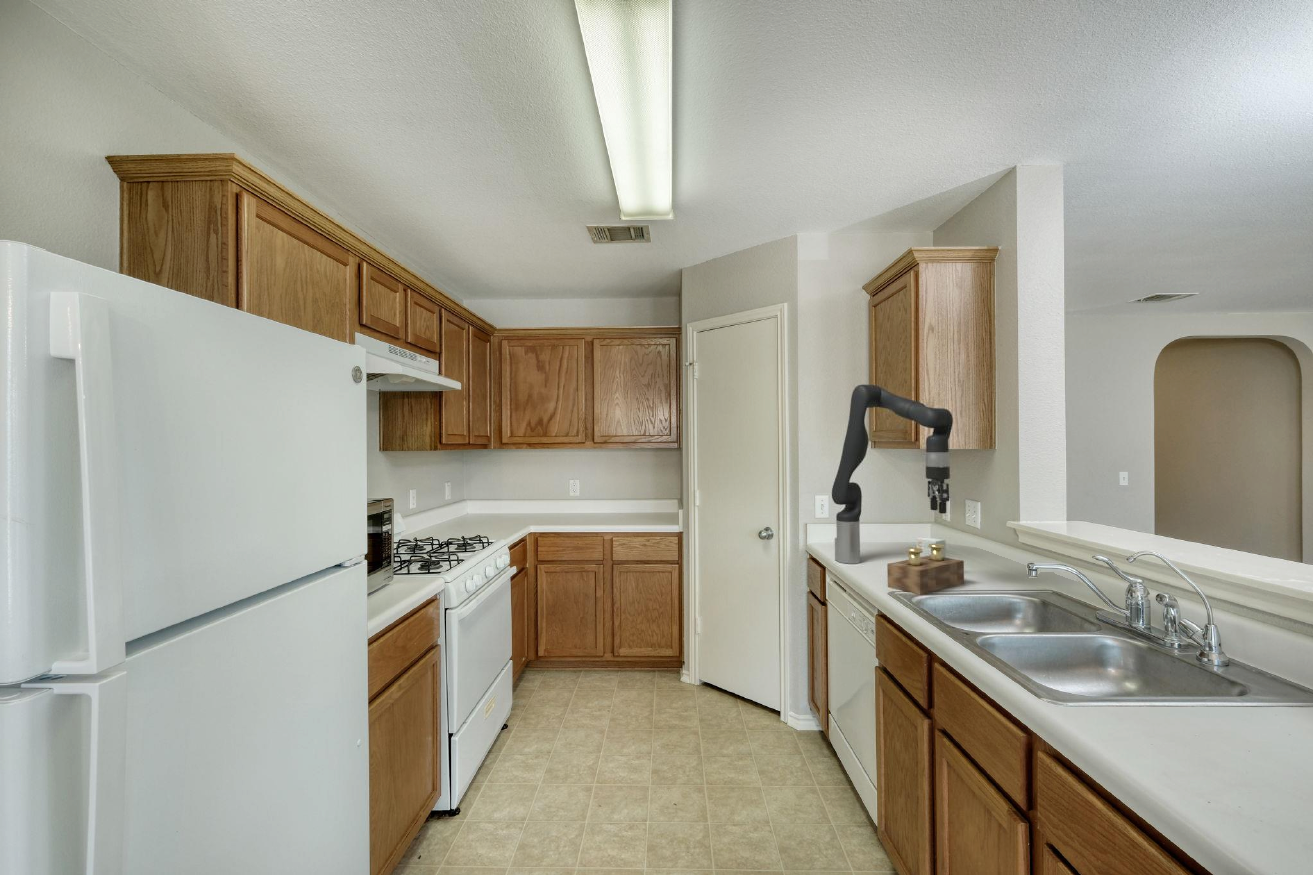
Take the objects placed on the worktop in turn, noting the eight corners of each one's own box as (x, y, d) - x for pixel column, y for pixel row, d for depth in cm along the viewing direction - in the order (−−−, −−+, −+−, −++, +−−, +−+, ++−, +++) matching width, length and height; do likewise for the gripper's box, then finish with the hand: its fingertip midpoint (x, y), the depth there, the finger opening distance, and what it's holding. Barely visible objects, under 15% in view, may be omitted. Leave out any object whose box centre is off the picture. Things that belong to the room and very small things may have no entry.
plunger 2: (925, 568, 193) (925, 544, 194) (934, 566, 196) (933, 542, 196) (939, 570, 189) (939, 546, 189) (947, 568, 192) (947, 545, 192)
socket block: (887, 586, 187) (887, 563, 188) (931, 576, 201) (931, 555, 201) (920, 594, 177) (919, 570, 177) (964, 583, 191) (963, 560, 191)
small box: (946, 574, 204) (946, 539, 205) (936, 576, 201) (935, 541, 201) (926, 570, 211) (926, 536, 212) (916, 572, 208) (915, 538, 208)
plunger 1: (903, 572, 187) (903, 548, 187) (912, 570, 189) (912, 546, 189) (917, 575, 182) (916, 550, 182) (926, 573, 185) (925, 549, 185)
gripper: (919, 464, 197) (920, 509, 197) (932, 466, 183) (933, 514, 183) (941, 464, 196) (942, 509, 195) (956, 466, 181) (957, 514, 181)
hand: (938, 511), depth 189 cm, fingers open, 8 cm apart
